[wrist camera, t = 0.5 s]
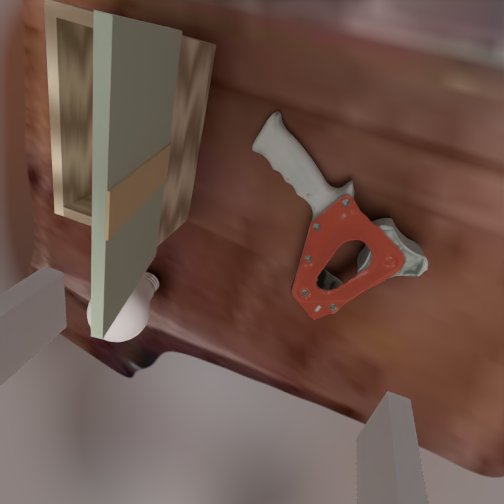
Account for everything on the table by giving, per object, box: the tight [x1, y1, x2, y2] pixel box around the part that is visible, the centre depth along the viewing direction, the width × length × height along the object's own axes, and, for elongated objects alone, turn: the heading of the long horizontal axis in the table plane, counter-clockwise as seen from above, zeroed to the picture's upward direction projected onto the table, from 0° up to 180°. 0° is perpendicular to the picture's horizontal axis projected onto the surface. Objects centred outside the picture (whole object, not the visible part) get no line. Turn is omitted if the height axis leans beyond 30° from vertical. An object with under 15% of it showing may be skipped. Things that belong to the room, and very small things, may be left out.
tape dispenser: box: [252, 112, 428, 319], centre depth 35 cm, size 18×5×20 cm
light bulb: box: [87, 271, 160, 342], centre depth 41 cm, size 7×7×11 cm
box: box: [44, 0, 217, 246], centre depth 33 cm, size 18×11×8 cm, turn 166°
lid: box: [91, 10, 182, 339], centre depth 24 cm, size 19×11×1 cm
